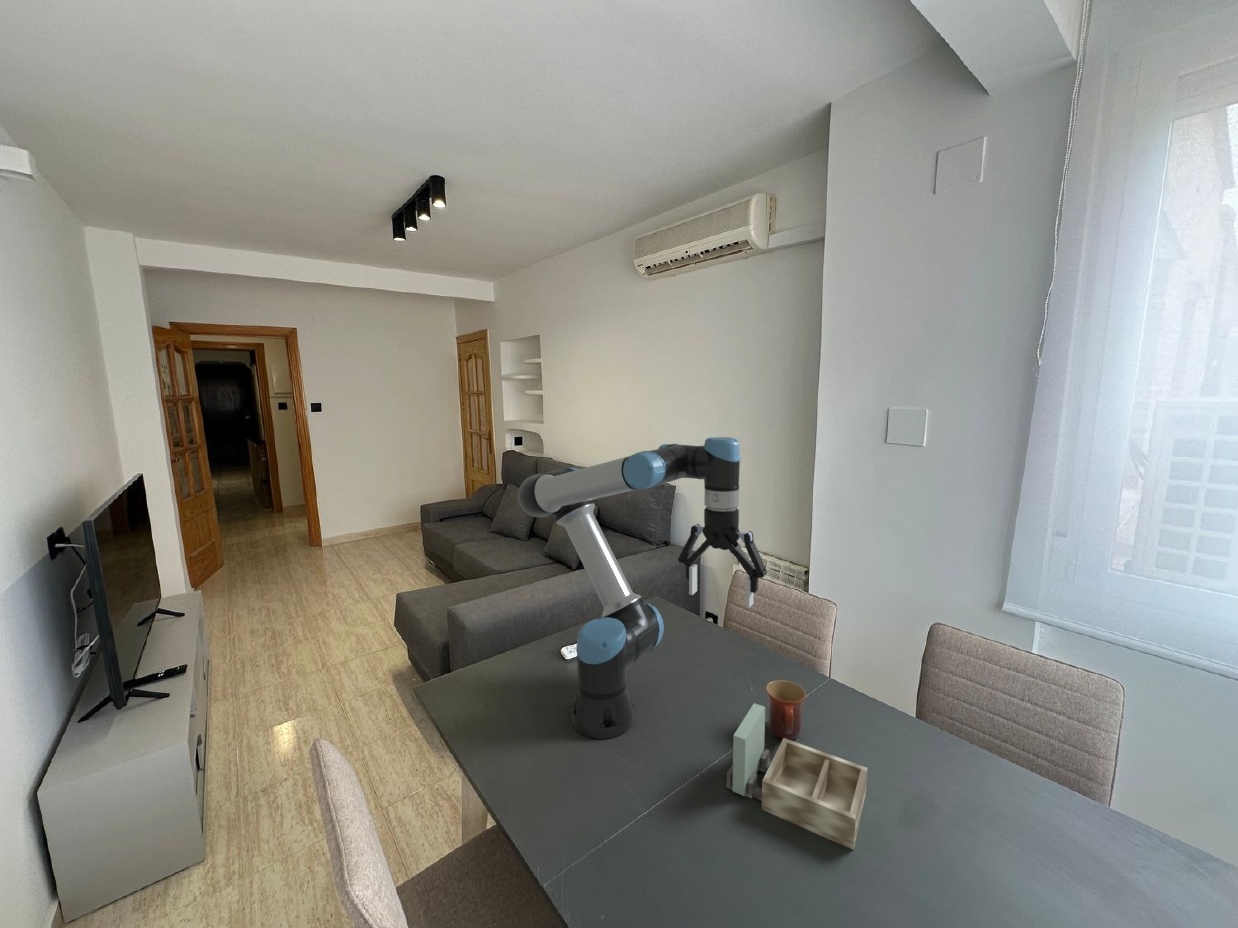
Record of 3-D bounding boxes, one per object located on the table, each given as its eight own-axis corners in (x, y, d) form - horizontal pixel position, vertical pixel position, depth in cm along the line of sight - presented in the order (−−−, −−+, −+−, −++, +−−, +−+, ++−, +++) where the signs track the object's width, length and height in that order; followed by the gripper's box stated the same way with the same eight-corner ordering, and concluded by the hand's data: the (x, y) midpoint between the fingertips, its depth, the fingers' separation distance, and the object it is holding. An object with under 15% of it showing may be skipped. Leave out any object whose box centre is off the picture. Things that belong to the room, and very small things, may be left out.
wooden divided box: (723, 792, 100) (723, 764, 99) (747, 750, 112) (748, 725, 111) (853, 849, 87) (855, 818, 86) (865, 795, 99) (867, 767, 98)
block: (729, 789, 100) (730, 734, 98) (750, 753, 110) (751, 702, 108) (744, 796, 98) (745, 739, 96) (763, 758, 108) (765, 706, 106)
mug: (763, 717, 123) (764, 678, 121) (801, 721, 121) (802, 681, 119) (767, 751, 111) (768, 708, 109) (809, 757, 109) (811, 713, 108)
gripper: (663, 504, 116) (664, 593, 119) (772, 518, 102) (770, 617, 105) (678, 498, 122) (678, 582, 125) (783, 510, 108) (780, 604, 111)
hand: (720, 599), depth 115 cm, fingers open, 13 cm apart
